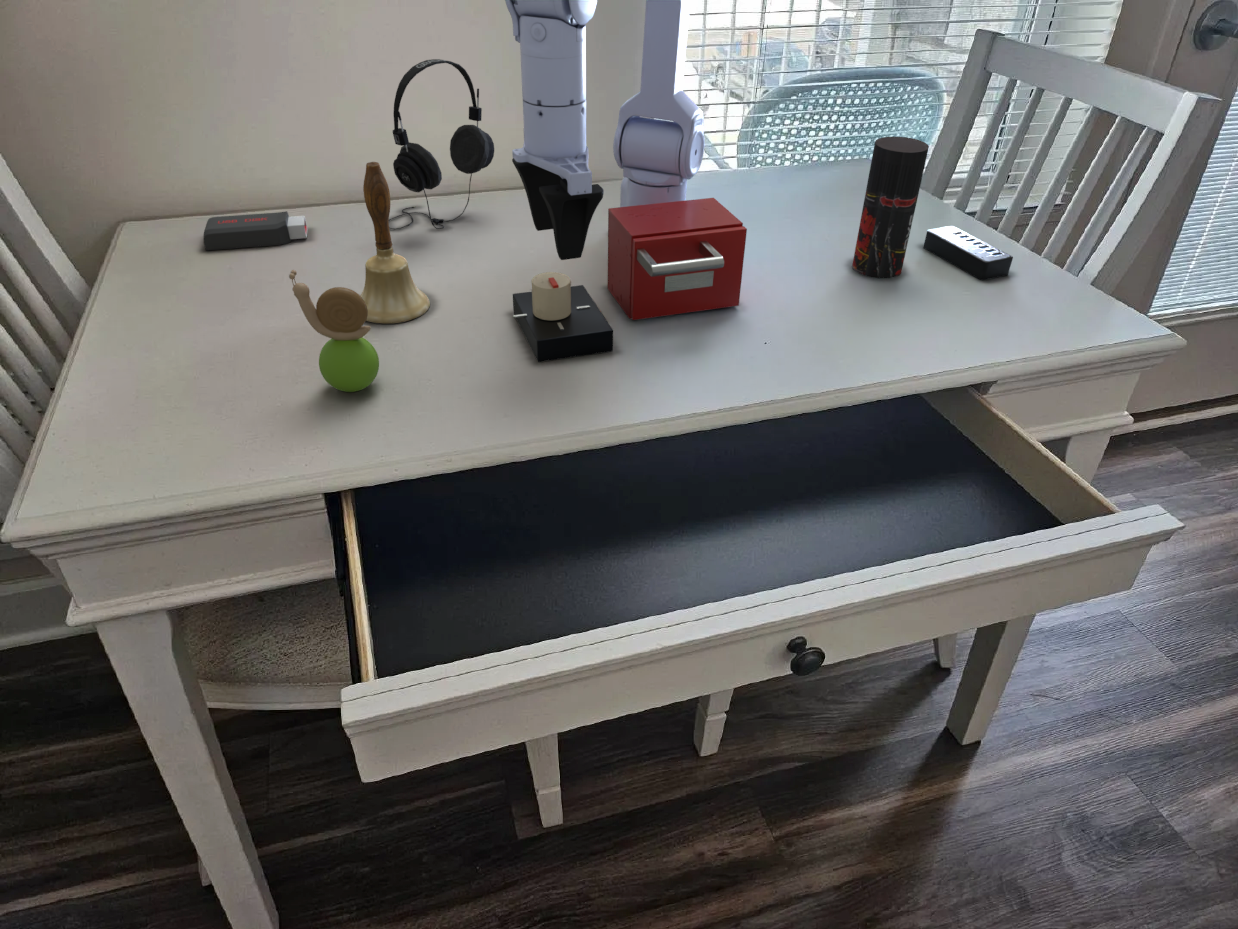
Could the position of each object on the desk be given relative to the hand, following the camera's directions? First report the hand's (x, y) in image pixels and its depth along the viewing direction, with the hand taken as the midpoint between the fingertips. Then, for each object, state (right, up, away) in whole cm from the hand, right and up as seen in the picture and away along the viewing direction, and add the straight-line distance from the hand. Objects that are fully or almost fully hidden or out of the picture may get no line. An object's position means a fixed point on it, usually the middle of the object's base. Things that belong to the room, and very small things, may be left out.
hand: (557, 242), depth 88 cm
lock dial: (-1, -6, +5) cm, 8 cm away
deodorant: (+38, +2, +22) cm, 44 cm away
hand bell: (-19, -5, +11) cm, 23 cm away
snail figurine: (-20, -15, -3) cm, 25 cm away
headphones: (-18, +11, +32) cm, 39 cm away
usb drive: (-40, +7, +26) cm, 48 cm away
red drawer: (+14, -6, +9) cm, 18 cm away
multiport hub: (+50, +4, +24) cm, 55 cm away
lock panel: (0, -8, +7) cm, 10 cm away
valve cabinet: (+12, -3, +14) cm, 19 cm away
